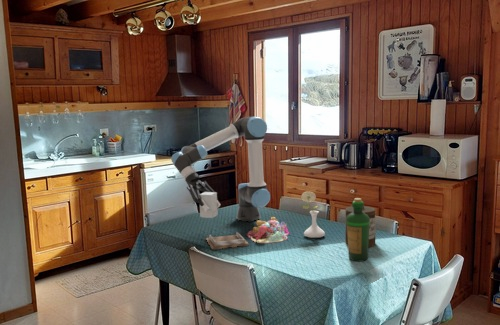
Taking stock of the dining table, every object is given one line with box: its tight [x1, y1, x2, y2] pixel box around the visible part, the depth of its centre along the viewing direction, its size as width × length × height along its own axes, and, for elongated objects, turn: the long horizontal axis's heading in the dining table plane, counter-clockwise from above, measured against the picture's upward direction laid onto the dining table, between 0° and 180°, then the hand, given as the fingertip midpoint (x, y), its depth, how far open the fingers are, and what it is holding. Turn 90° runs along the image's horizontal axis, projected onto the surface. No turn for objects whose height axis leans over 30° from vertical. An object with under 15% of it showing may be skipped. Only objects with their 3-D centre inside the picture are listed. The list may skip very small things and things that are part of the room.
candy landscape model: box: [246, 216, 290, 244], centre depth 257 cm, size 25×24×9 cm
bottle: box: [345, 197, 370, 262], centre depth 215 cm, size 11×11×28 cm
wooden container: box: [344, 202, 376, 248], centre depth 237 cm, size 15×15×22 cm
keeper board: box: [205, 231, 250, 251], centre depth 248 cm, size 19×18×3 cm
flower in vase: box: [300, 190, 326, 239], centre depth 253 cm, size 13×11×25 cm
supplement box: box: [199, 191, 219, 219], centre depth 253 cm, size 7×7×13 cm
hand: (213, 208), depth 251 cm, fingers closed on supplement box, 9 cm apart
